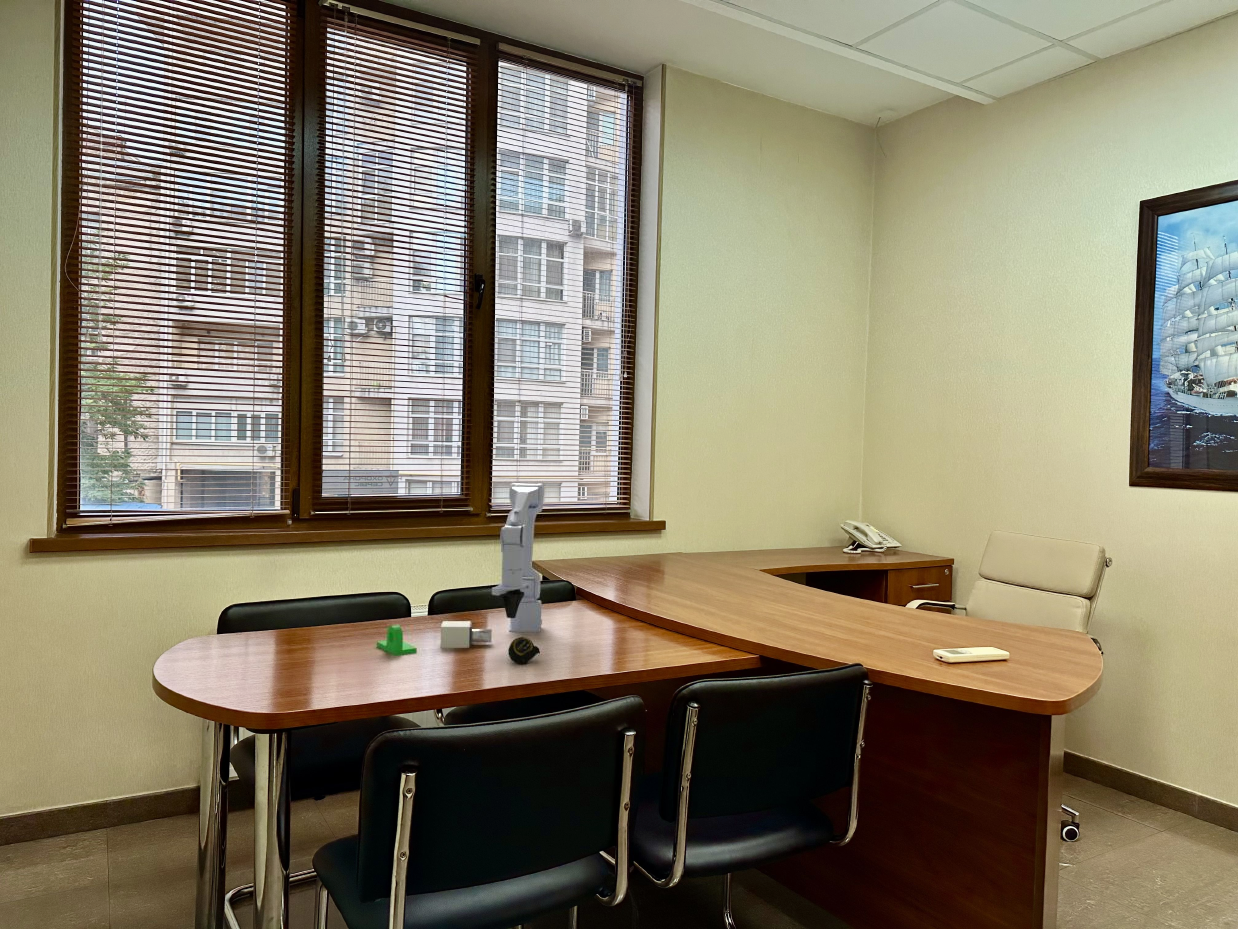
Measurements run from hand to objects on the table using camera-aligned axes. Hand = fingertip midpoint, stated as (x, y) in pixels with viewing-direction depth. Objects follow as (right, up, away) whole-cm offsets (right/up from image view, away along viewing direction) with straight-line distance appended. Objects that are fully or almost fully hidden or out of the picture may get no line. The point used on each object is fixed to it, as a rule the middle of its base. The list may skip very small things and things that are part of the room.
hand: (511, 617), depth 240 cm
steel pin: (-10, -7, -1) cm, 12 cm away
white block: (-15, -8, -2) cm, 17 cm away
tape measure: (+6, -9, -19) cm, 21 cm away
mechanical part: (-30, -8, -8) cm, 32 cm away
